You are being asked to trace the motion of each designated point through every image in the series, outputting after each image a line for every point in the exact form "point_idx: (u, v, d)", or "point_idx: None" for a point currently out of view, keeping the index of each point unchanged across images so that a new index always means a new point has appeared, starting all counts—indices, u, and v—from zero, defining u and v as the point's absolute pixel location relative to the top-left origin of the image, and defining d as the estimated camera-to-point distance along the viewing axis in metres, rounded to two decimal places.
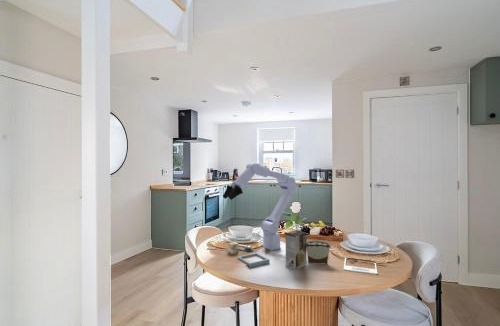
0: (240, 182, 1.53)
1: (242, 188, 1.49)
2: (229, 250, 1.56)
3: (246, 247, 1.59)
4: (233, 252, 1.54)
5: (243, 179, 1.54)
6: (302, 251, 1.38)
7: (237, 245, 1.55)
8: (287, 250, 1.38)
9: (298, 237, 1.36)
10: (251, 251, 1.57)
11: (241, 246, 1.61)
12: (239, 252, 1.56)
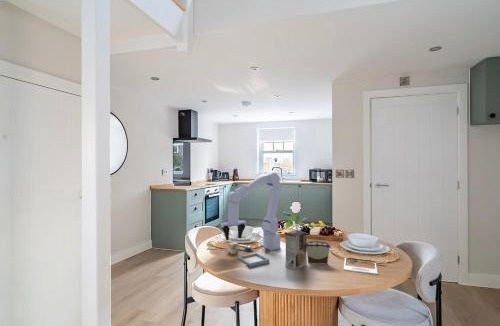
0: (228, 219, 1.56)
1: (221, 226, 1.52)
2: (229, 250, 1.56)
3: (246, 247, 1.59)
4: (233, 252, 1.54)
5: (228, 215, 1.56)
6: (302, 251, 1.38)
7: (237, 245, 1.55)
8: (287, 250, 1.38)
9: (298, 237, 1.36)
10: (251, 251, 1.57)
11: (241, 246, 1.61)
12: (239, 252, 1.56)
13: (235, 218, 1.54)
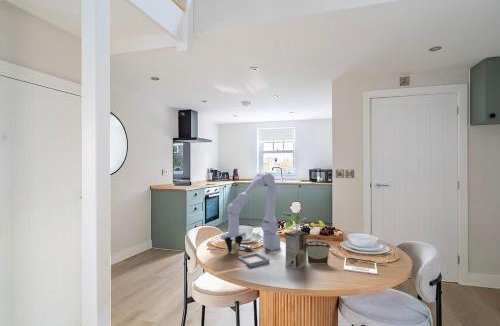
0: (228, 231, 1.56)
1: (221, 238, 1.52)
2: None
3: (246, 247, 1.59)
4: (233, 252, 1.54)
5: (228, 226, 1.56)
6: (302, 251, 1.38)
7: (237, 245, 1.55)
8: (287, 250, 1.38)
9: (298, 237, 1.36)
10: (251, 251, 1.57)
11: (241, 246, 1.61)
12: (239, 252, 1.56)
13: (235, 230, 1.54)
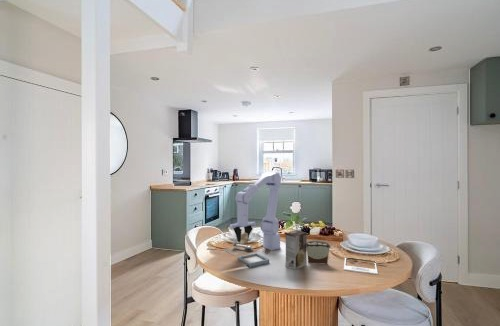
0: (237, 220, 1.50)
1: (230, 227, 1.46)
2: None
3: (246, 247, 1.59)
4: (242, 242, 1.48)
5: None
6: (302, 251, 1.38)
7: (246, 235, 1.50)
8: (287, 250, 1.38)
9: (298, 237, 1.36)
10: (251, 251, 1.57)
11: (241, 246, 1.61)
12: (239, 252, 1.56)
13: (244, 219, 1.48)
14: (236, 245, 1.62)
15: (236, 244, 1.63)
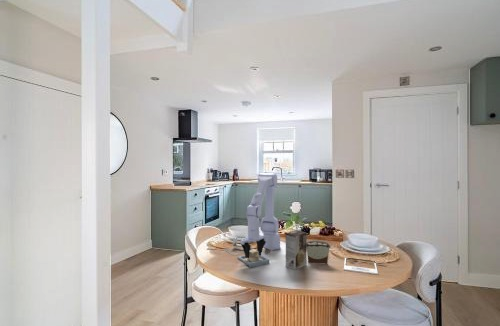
0: (248, 235, 1.44)
1: (242, 243, 1.40)
2: (248, 258, 1.44)
3: None
4: (253, 260, 1.42)
5: (248, 230, 1.44)
6: (302, 251, 1.38)
7: (257, 253, 1.44)
8: (287, 250, 1.38)
9: (298, 237, 1.36)
10: None
11: (241, 246, 1.61)
12: (239, 252, 1.56)
13: (256, 234, 1.42)
14: (236, 245, 1.62)
15: (236, 244, 1.63)
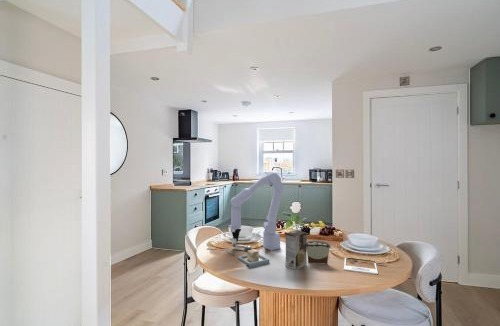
0: (232, 224, 1.62)
1: (233, 231, 1.57)
2: (248, 258, 1.44)
3: (246, 247, 1.59)
4: (253, 260, 1.42)
5: (232, 219, 1.62)
6: (302, 251, 1.38)
7: (257, 253, 1.44)
8: (287, 250, 1.38)
9: (298, 237, 1.36)
10: None
11: (241, 246, 1.60)
12: (239, 252, 1.56)
13: (240, 221, 1.64)
14: (235, 245, 1.62)
15: (235, 244, 1.62)
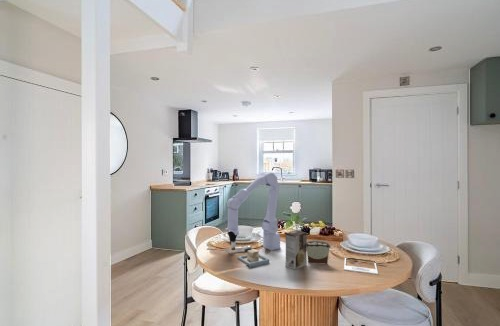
0: (232, 226, 1.55)
1: (237, 234, 1.51)
2: (248, 258, 1.44)
3: (247, 248, 1.58)
4: (253, 260, 1.42)
5: (232, 222, 1.55)
6: (302, 251, 1.38)
7: (257, 253, 1.44)
8: (287, 250, 1.38)
9: (298, 237, 1.36)
10: None
11: (241, 248, 1.57)
12: (239, 252, 1.56)
13: None
14: (236, 248, 1.56)
15: (235, 247, 1.57)
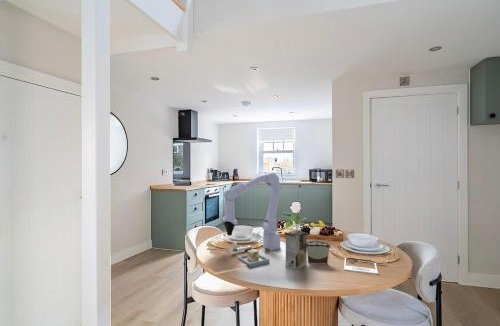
0: (230, 217, 1.57)
1: (236, 223, 1.54)
2: (248, 258, 1.44)
3: (248, 248, 1.58)
4: (253, 260, 1.42)
5: (230, 212, 1.57)
6: (302, 251, 1.38)
7: (257, 253, 1.44)
8: (287, 250, 1.38)
9: (298, 237, 1.36)
10: None
11: (243, 248, 1.56)
12: (239, 252, 1.56)
13: None
14: (237, 249, 1.55)
15: (237, 248, 1.55)
